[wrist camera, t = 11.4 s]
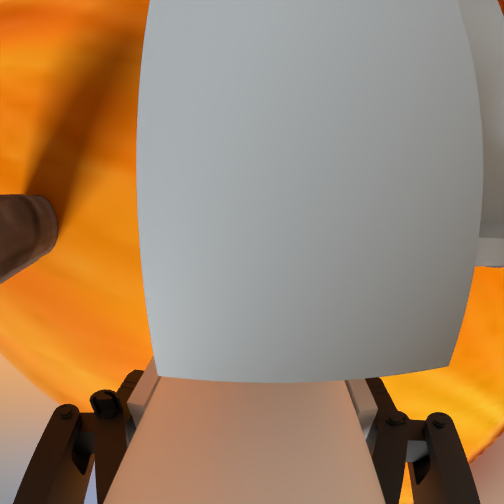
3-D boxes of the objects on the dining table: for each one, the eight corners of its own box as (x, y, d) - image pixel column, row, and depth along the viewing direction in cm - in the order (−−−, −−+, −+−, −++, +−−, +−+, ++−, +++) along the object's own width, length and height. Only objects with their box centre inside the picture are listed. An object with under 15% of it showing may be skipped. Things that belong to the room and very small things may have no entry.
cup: (187, 270, 18) (17, 510, 2) (324, 269, 18) (468, 531, 2) (199, 379, 20) (137, 590, 4) (314, 380, 20) (356, 598, 4)
